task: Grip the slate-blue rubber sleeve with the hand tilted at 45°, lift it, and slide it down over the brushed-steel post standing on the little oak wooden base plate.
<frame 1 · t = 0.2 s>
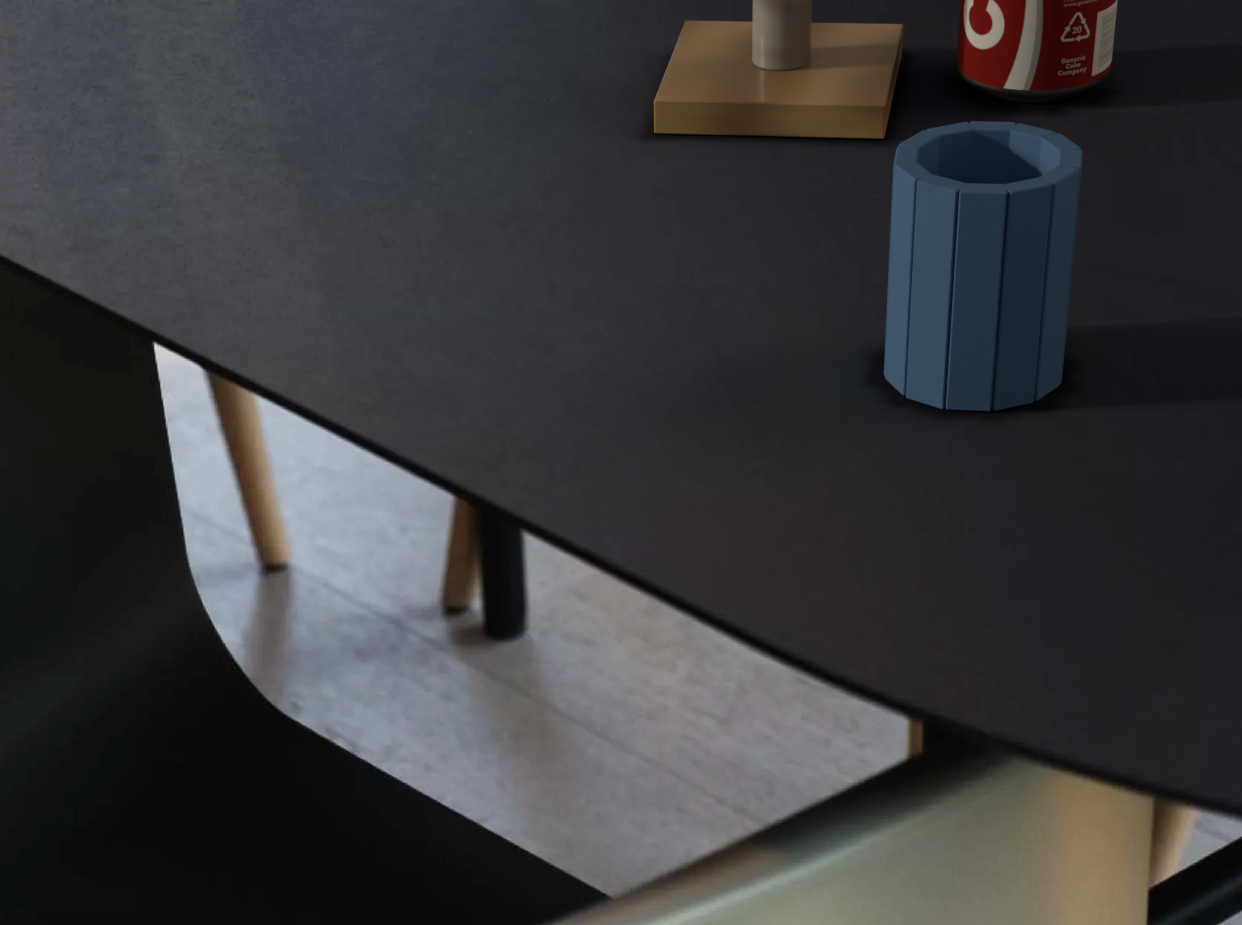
sleeve: (973, 371, 98), on the table
wooden base plate: (780, 94, 119), on the table
soda can: (1031, 87, 119), on the table
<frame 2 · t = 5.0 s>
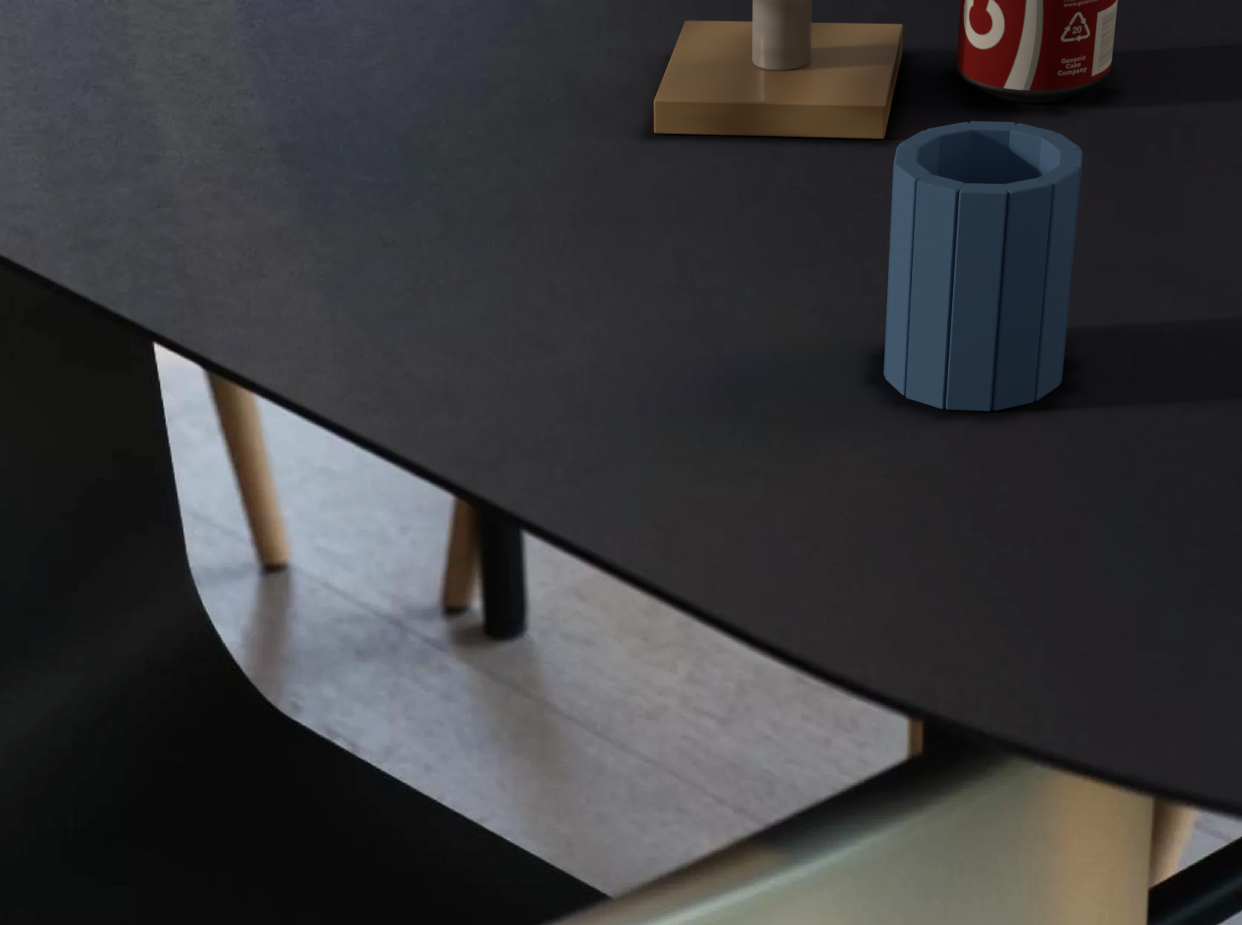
nothing on the table moved.
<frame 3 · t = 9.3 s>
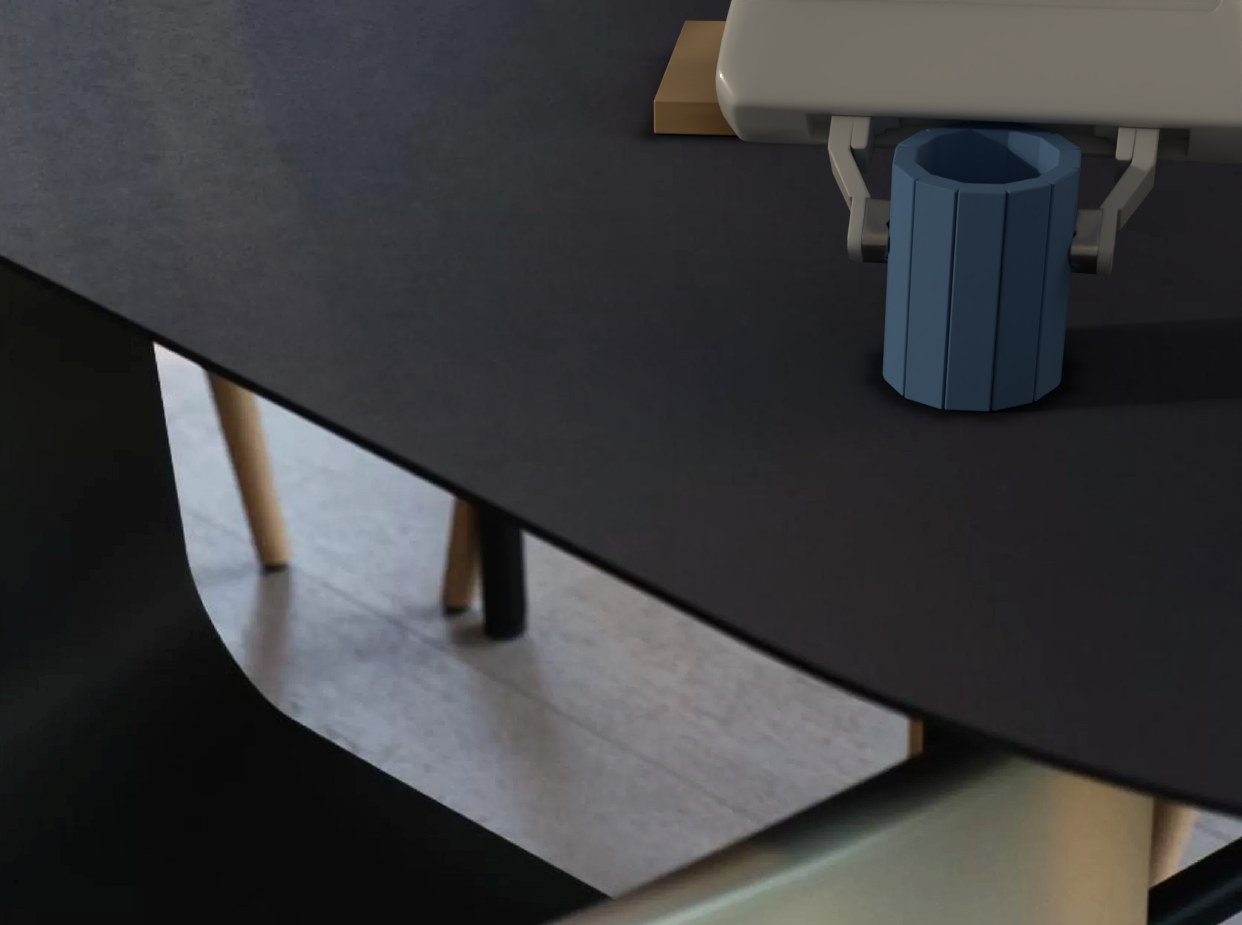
hand: (979, 263, 94), 4 cm above the table, tool tilted 45°, fingers closed on sleeve, 6 cm apart
sleeve: (972, 371, 98), on the table, touching gripper
everything else where it was.
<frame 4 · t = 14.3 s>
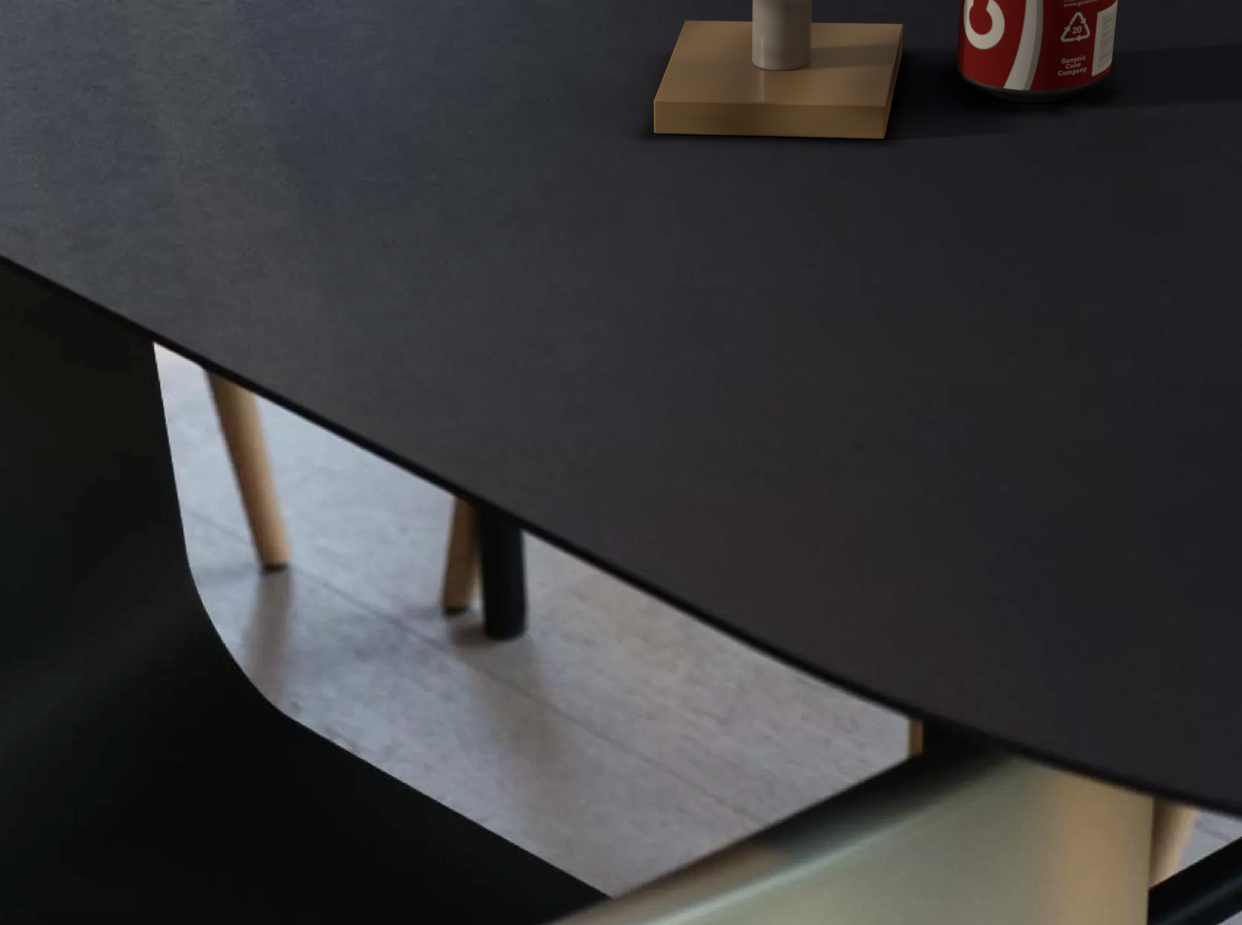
when the fingers open (6 cm above the table, at t = 19.4 s): sleeve stays where it is, resting on wooden base plate.
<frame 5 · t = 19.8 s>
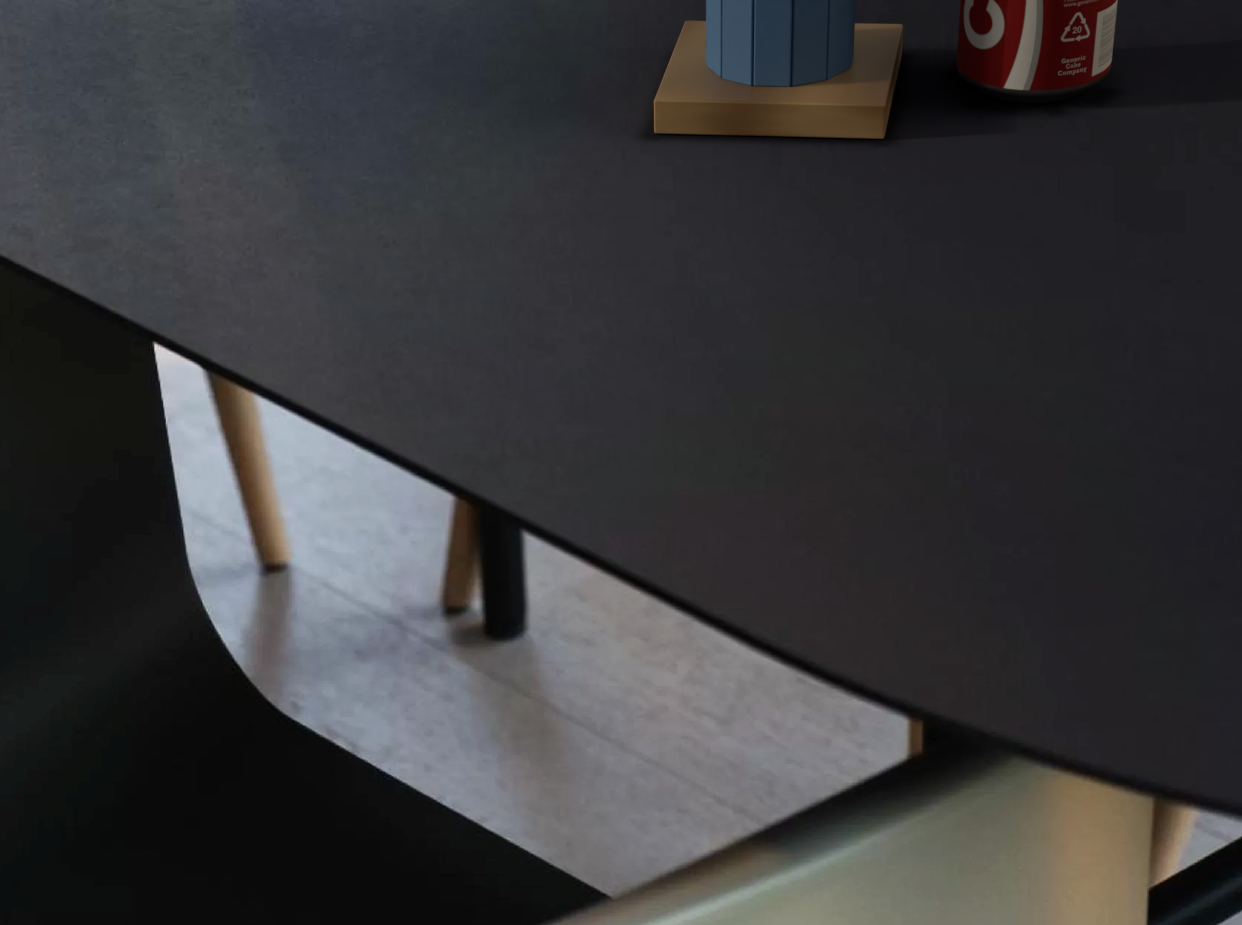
sleeve: (779, 60, 118), point 1 cm above the table, touching wooden base plate
everything else where it was.
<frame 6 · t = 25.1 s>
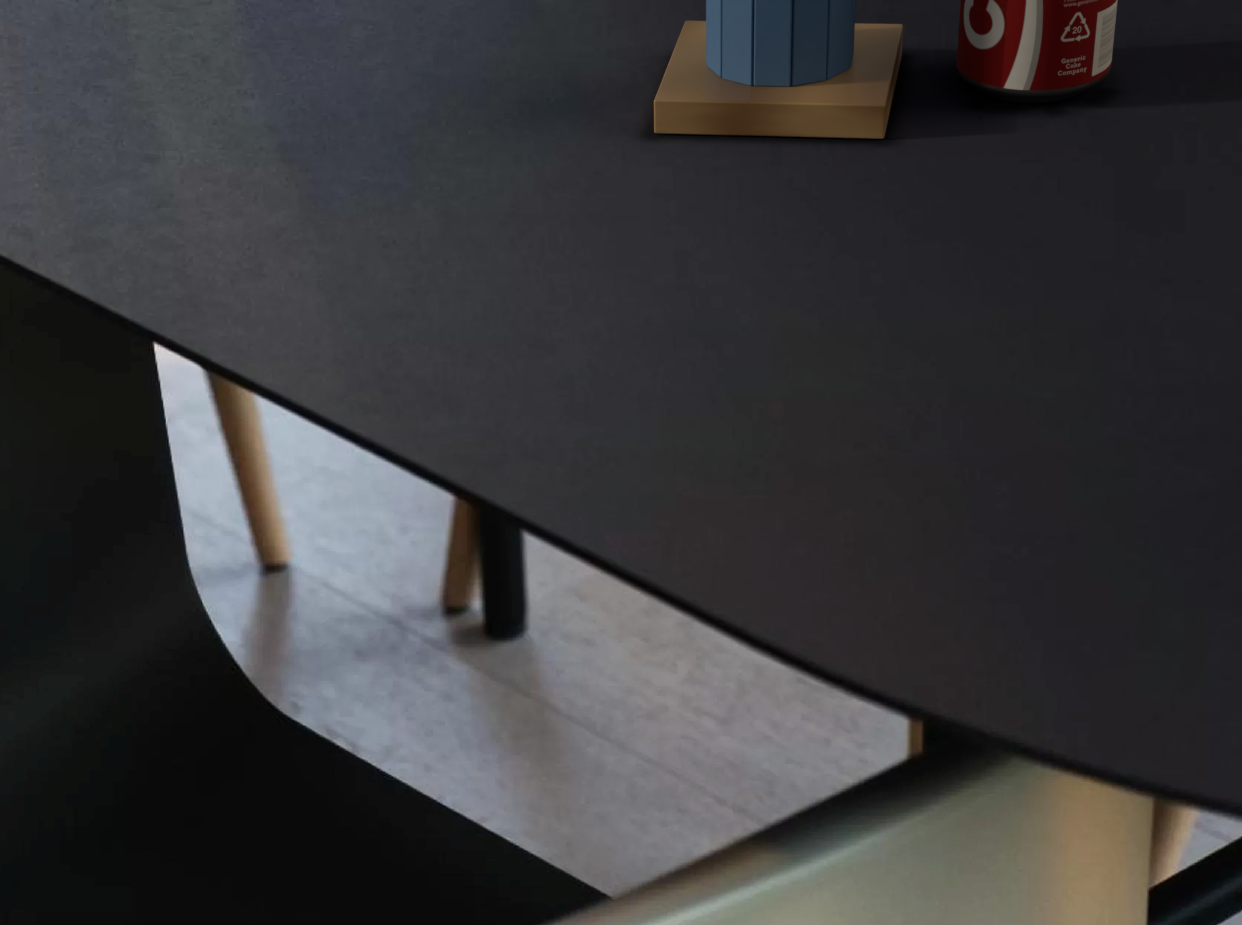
nothing on the table moved.
at the end: sleeve 0.1 cm off-centre on the wooden base plate, point 1.5 cm above the wooden base plate's base; sleeve tilted 0° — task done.
